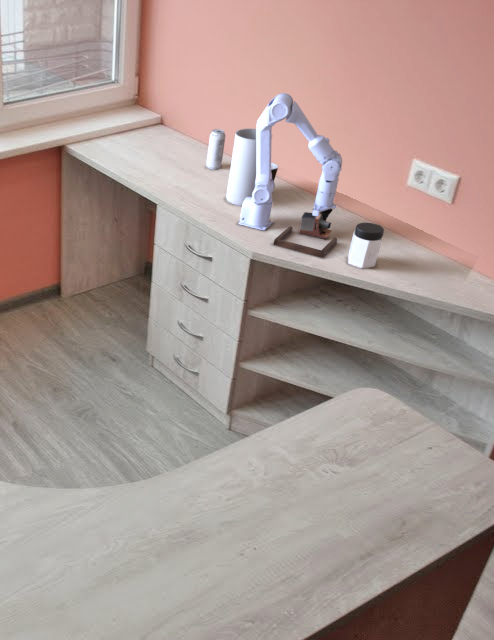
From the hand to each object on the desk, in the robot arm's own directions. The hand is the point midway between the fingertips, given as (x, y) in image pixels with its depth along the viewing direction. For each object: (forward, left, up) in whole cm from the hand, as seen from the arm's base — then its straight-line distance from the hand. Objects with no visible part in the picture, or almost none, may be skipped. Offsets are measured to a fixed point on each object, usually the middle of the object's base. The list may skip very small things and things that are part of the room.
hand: (318, 228), depth 271 cm
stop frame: (0, -10, -2) cm, 11 cm away
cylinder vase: (-32, +12, -2) cm, 34 cm away
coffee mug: (-31, +26, -2) cm, 40 cm away
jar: (+19, -13, -2) cm, 23 cm away
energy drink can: (-56, +37, -2) cm, 67 cm away
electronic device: (0, -2, -1) cm, 3 cm away
